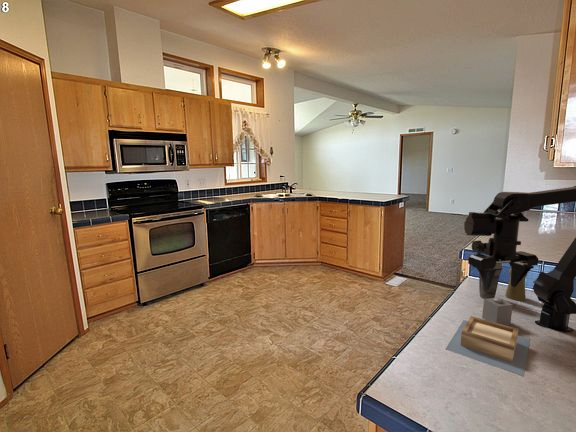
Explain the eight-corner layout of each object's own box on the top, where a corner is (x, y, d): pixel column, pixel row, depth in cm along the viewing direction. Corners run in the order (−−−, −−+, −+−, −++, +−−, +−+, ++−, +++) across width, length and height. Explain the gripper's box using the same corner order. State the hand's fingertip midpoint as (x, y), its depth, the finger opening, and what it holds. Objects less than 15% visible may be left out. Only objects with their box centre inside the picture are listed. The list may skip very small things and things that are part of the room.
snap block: (495, 319, 97) (498, 295, 95) (510, 327, 92) (513, 302, 91) (481, 320, 96) (484, 296, 94) (495, 328, 91) (498, 303, 90)
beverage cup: (499, 303, 108) (505, 246, 105) (474, 298, 111) (480, 244, 108) (498, 295, 114) (504, 242, 111) (475, 291, 118) (480, 239, 114)
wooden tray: (469, 328, 89) (470, 316, 89) (517, 342, 82) (518, 329, 82) (460, 345, 81) (461, 331, 80) (512, 362, 74) (514, 347, 73)
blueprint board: (463, 322, 94) (463, 320, 94) (529, 341, 84) (530, 338, 84) (444, 351, 79) (445, 348, 79) (523, 379, 69) (523, 376, 69)
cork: (529, 301, 109) (533, 271, 107) (509, 300, 110) (513, 270, 109) (520, 294, 115) (523, 265, 113) (501, 293, 116) (505, 264, 114)
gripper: (508, 229, 99) (503, 276, 102) (456, 232, 95) (452, 280, 98) (542, 236, 88) (536, 289, 91) (486, 240, 85) (481, 294, 87)
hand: (500, 288), depth 92 cm, fingers open, 9 cm apart
